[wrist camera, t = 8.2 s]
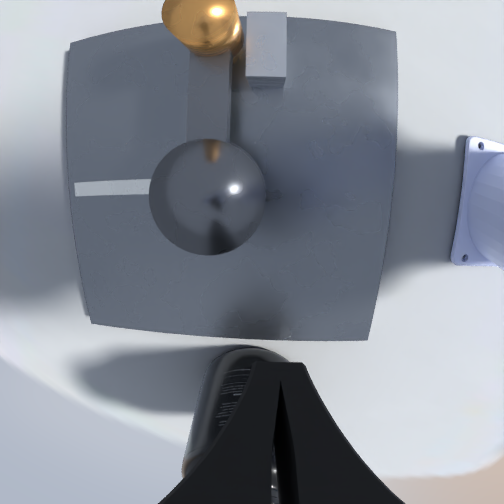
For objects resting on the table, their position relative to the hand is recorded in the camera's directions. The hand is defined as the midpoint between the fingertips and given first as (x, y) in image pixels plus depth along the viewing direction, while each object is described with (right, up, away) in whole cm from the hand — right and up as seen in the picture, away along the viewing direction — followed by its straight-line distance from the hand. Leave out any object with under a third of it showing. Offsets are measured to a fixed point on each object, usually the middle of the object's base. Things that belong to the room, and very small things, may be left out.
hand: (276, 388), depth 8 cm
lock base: (-2, +7, +8) cm, 12 cm away
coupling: (-2, +9, +5) cm, 11 cm away
